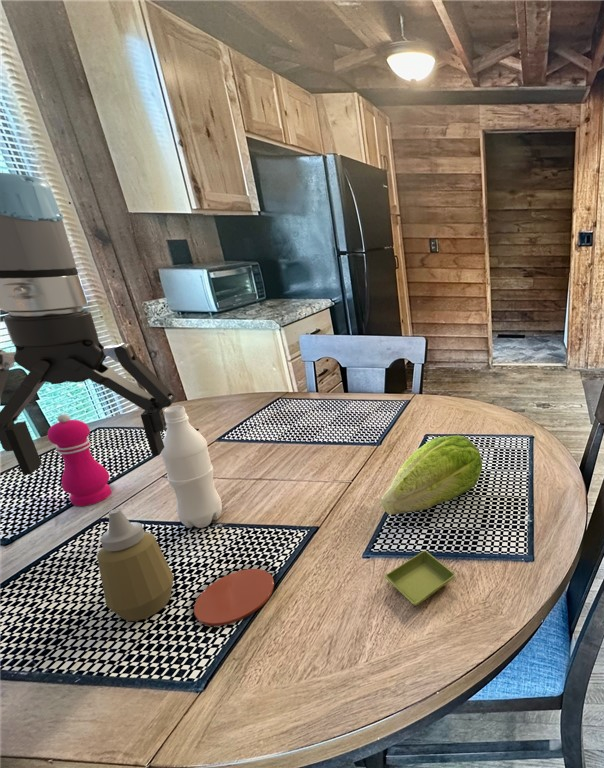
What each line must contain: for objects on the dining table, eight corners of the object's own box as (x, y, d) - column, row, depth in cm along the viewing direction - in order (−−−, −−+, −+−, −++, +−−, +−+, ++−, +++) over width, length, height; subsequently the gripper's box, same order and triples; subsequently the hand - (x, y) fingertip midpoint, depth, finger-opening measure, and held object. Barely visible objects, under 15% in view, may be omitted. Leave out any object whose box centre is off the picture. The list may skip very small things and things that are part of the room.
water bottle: (188, 513, 87) (158, 403, 79) (228, 507, 90) (202, 399, 81) (176, 535, 81) (141, 418, 73) (219, 527, 83) (190, 413, 75)
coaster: (186, 598, 67) (185, 595, 67) (259, 561, 75) (259, 559, 75) (206, 640, 61) (205, 637, 61) (285, 595, 69) (284, 592, 68)
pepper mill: (82, 511, 87) (49, 424, 80) (60, 503, 89) (27, 418, 82) (122, 492, 93) (95, 410, 87) (101, 485, 96) (73, 405, 89)
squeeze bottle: (188, 599, 67) (161, 506, 61) (125, 638, 61) (87, 537, 55) (165, 579, 71) (137, 488, 65) (103, 613, 64) (65, 516, 58)
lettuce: (356, 478, 90) (382, 474, 79) (444, 430, 106) (476, 421, 94) (385, 536, 91) (415, 540, 79) (468, 480, 107) (502, 477, 95)
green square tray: (456, 584, 72) (456, 574, 71) (414, 615, 66) (414, 605, 65) (425, 558, 77) (425, 549, 77) (384, 585, 71) (383, 575, 70)
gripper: (-134, 321, 44) (-49, 493, 51) (162, 311, 54) (199, 456, 61) (-77, 309, 50) (-9, 464, 57) (178, 302, 60) (209, 434, 67)
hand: (98, 460), depth 59 cm, fingers open, 13 cm apart
